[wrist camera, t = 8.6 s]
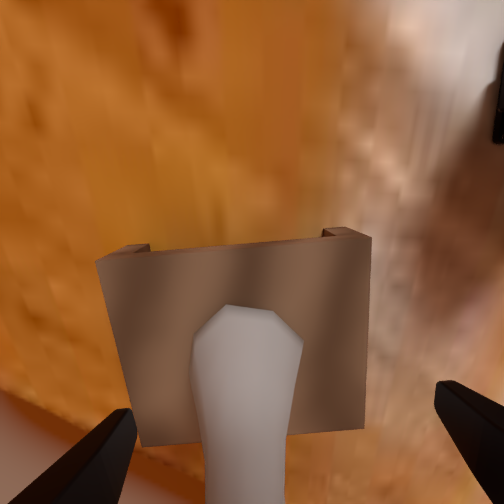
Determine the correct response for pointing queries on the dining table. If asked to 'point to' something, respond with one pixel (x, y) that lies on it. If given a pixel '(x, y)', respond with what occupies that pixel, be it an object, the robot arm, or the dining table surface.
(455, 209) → the dining table surface
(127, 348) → the walnut shelf
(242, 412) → the flask
